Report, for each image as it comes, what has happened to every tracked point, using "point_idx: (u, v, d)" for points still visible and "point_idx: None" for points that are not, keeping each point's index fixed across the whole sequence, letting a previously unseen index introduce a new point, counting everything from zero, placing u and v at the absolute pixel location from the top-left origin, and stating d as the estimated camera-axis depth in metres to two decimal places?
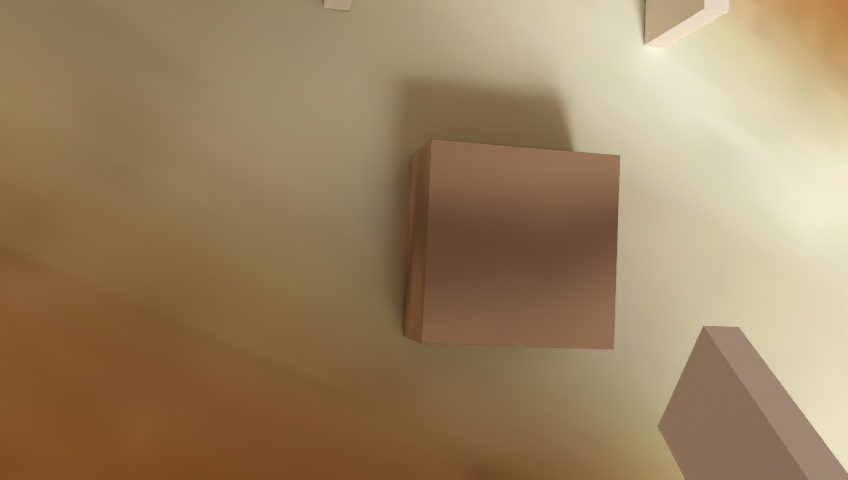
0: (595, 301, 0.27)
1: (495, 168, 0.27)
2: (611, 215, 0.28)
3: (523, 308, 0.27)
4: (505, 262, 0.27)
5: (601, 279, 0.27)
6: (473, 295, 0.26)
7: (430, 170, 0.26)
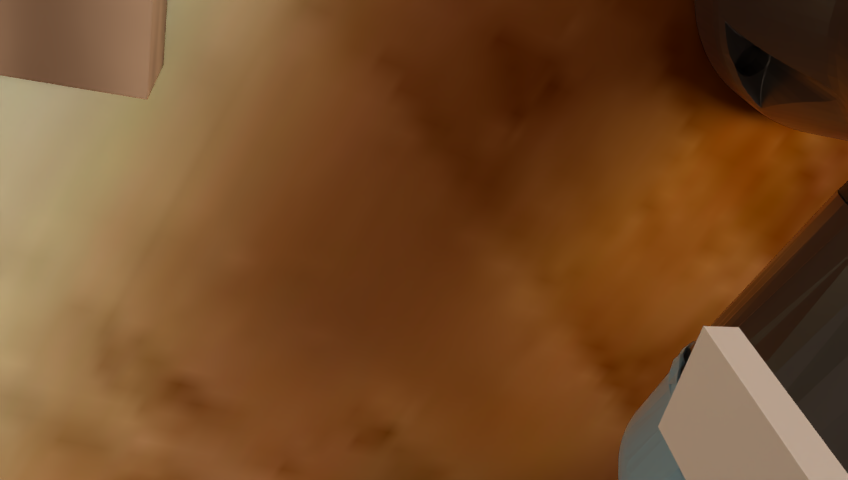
0: None
1: None
2: None
3: None
4: (64, 10, 0.27)
5: None
6: (100, 46, 0.28)
7: None
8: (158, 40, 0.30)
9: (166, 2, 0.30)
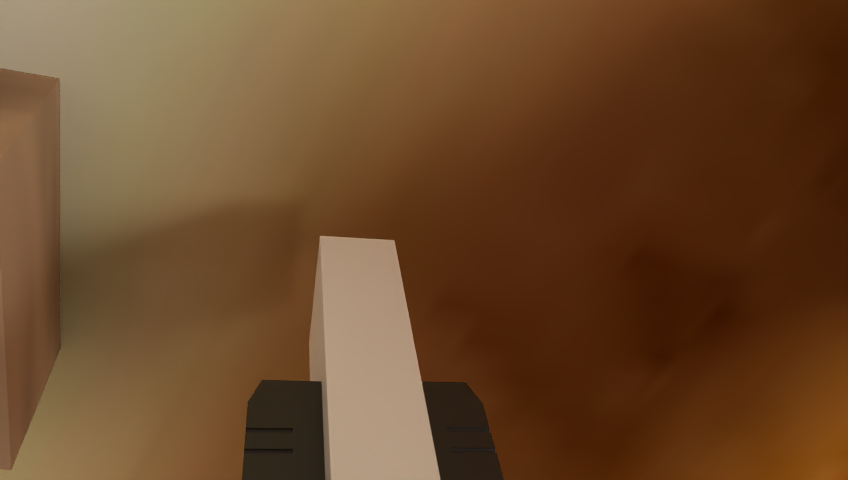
0: None
1: None
2: None
3: None
4: None
5: None
6: None
7: None
8: (38, 343, 0.16)
9: (57, 263, 0.17)
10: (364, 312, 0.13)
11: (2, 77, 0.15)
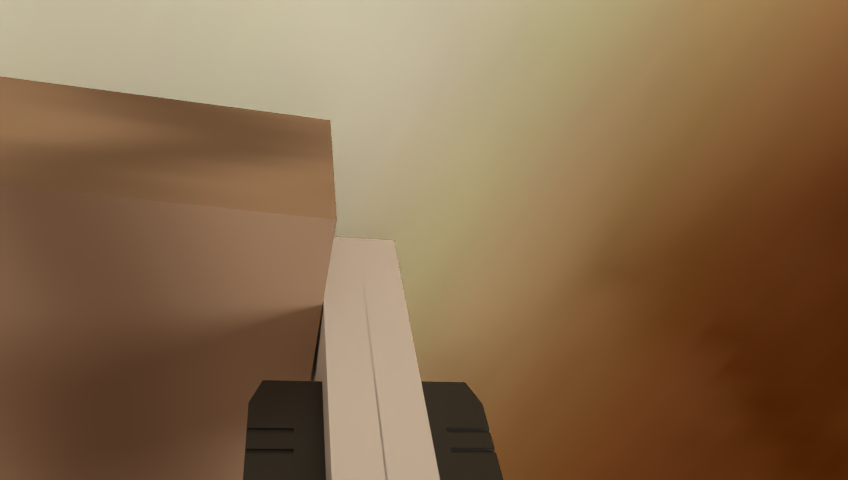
0: (226, 249, 0.12)
1: None
2: (12, 200, 0.11)
3: (236, 373, 0.14)
4: (145, 398, 0.14)
5: (175, 233, 0.12)
6: (210, 442, 0.15)
7: None
8: None
9: None
10: (365, 312, 0.13)
11: (284, 124, 0.15)
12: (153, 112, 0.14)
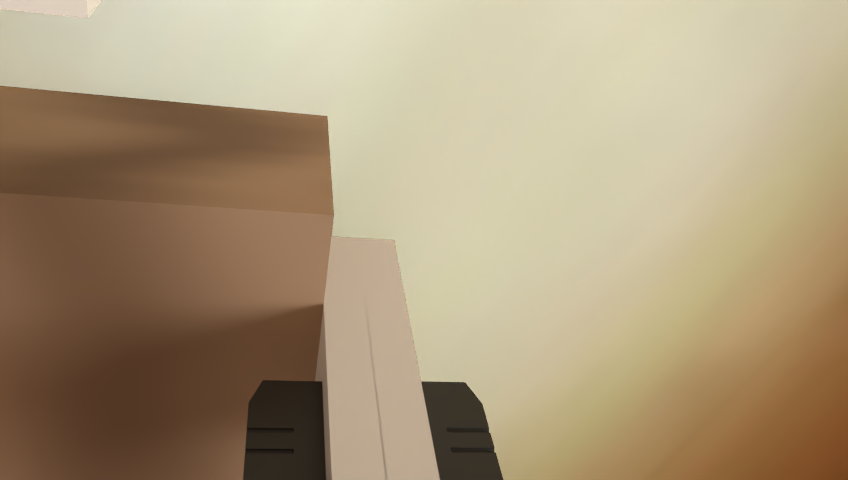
0: (224, 249, 0.12)
1: None
2: (10, 207, 0.11)
3: (241, 372, 0.14)
4: (153, 399, 0.14)
5: (174, 234, 0.12)
6: (219, 441, 0.15)
7: None
8: None
9: None
10: (365, 312, 0.13)
11: (280, 121, 0.15)
12: (149, 115, 0.14)
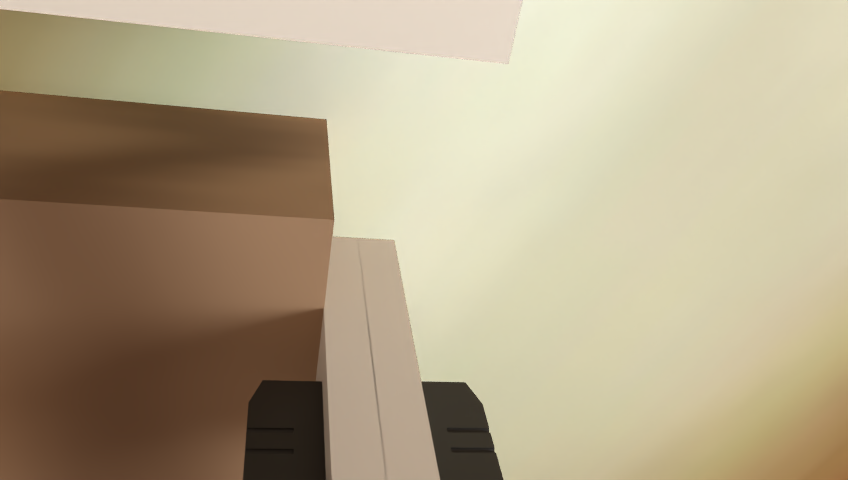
0: (224, 253, 0.12)
1: None
2: (7, 214, 0.11)
3: (241, 378, 0.14)
4: (152, 406, 0.14)
5: (172, 240, 0.12)
6: (218, 447, 0.15)
7: None
8: None
9: None
10: (364, 312, 0.13)
11: (279, 125, 0.15)
12: (147, 119, 0.14)
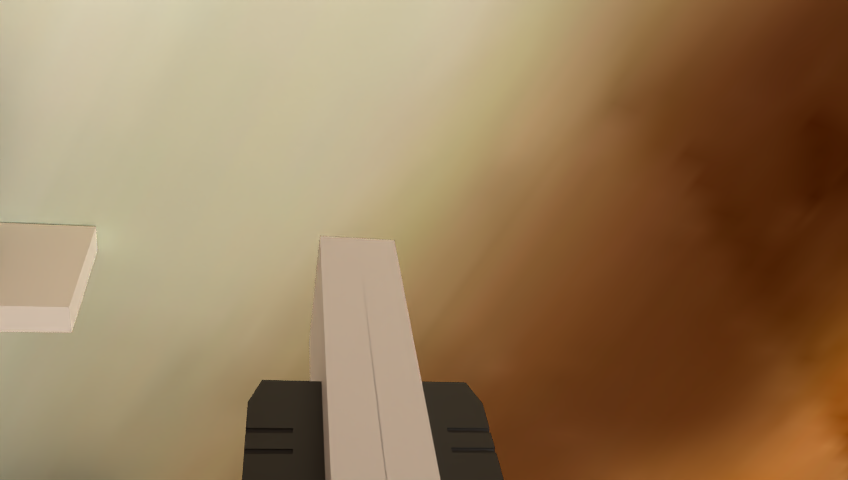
0: None
1: None
2: None
3: None
4: None
5: None
6: None
7: None
8: None
9: None
10: (364, 312, 0.13)
11: None
12: None
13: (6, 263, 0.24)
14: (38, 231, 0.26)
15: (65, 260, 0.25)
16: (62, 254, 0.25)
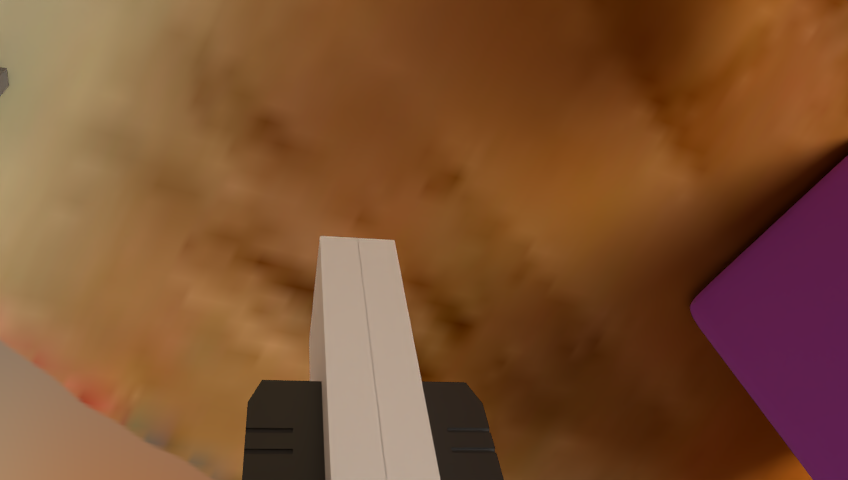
0: None
1: None
2: None
3: None
4: None
5: None
6: None
7: None
8: None
9: None
10: (364, 312, 0.13)
11: None
12: None
13: None
14: None
15: None
16: None
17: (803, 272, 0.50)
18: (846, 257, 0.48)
